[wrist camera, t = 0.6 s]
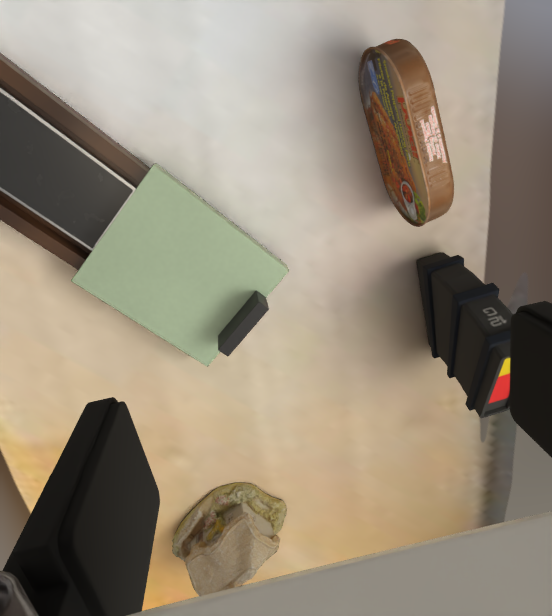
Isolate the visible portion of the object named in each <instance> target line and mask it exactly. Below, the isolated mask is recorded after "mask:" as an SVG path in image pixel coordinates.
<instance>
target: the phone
mask: <svg viewBox="0 0 552 616" xmlns="http://www.w3.org/2000/svg"><path fill="white" fill-rule="evenodd" d="M136 188H137V186H135V185H134V184H133V183H131V182H130V181H129V180H127V179H126V178H125V177H123V176H122V175H121V174H119V173H118V172H117V171H115V170H114V169H113V168H111V167H110V166H109V165H107V164H106V163H105V162H103V161H102V160H101V159H99V158H98V157H97V156H95V155H94V154H93V153H91V152H90V151H88V150H87V149H86V148H84V147H83V146H82V145H80V144H79V143H78V142H76V141H75V140H74V139H72V138H71V137H70V136H68V135H67V134H66V133H64V132H63V131H62V130H60V129H59V128H58V127H56V126H55V125H54V124H52V123H51V122H50V121H48V120H47V119H46V118H44V117H43V116H42V115H40V114H39V113H38V112H36V111H35V110H33V109H32V108H31V107H29V106H28V105H27V104H25V103H24V102H23V101H21V100H20V99H19V98H17V97H16V96H15V95H13V94H12V93H11V92H9V91H8V90H7V89H5V88H4V87H3V86H1V85H0V190H1V191H2V192H4V193H5V194H7V195H8V196H10V197H11V198H13V199H14V200H16V201H17V202H19V203H20V204H22V205H23V206H25V207H26V208H28V209H29V210H31V211H32V212H34V213H35V214H37V215H38V216H40V217H41V218H43V219H44V220H46V221H47V222H49V223H50V224H52V225H53V226H55V227H56V228H58V229H59V230H61V231H62V232H64V233H65V234H67V235H68V236H70V237H71V238H73V239H74V240H76V241H77V242H79V243H80V244H82V245H83V246H85V247H86V248H88V249H89V250H91V251H93V249H94V248H95V246H96V245H97V244H98V242H99V241H100V239H101V238H102V236H103V235H104V234H105V232H106V231H107V229H108V228H109V227H110V225H111V224H112V222H113V221H114V219H115V218H116V217H117V215H118V214H119V212H120V211H121V210H122V208H123V207H124V205H125V204H126V203H127V201H128V200H129V198H130V197H131V195H132V194H133V193H134V191H135V190H136Z"/></svg>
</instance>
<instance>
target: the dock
mask: <svg viewBox="0 0 552 616" xmlns="http://www.w3.org/2000/svg"><path fill="white" fill-rule="evenodd" d="M0 85H1V86H3V87H4V88H5V89H7V90H8V91H9V92H11V93H12V94H13V95H15V96H16V97H17V98H19V99H20V100H21V101H23V102H24V103H25V104H27V105H28V106H29V107H31V108H32V109H33V110H35V111H36V112H38V113H39V114H40V115H42V116H43V117H44V118H46V119H47V120H48V121H50V122H51V123H52V124H54V125H55V126H56V127H58V128H59V129H60V130H62V131H63V132H64V133H66V134H67V135H68V136H70V137H71V138H72V139H74V140H75V141H76V142H78V143H79V144H80V145H82V146H83V147H84V148H86V149H87V150H88V151H90V152H91V153H93V154H94V155H95V156H97V157H98V158H99V159H101V160H102V161H103V162H105V163H106V164H107V165H109V166H110V167H111V168H113V169H114V170H115V171H117V172H118V173H119V174H121V175H122V176H123V177H125V178H126V179H127V180H129V181H130V182H131V183H133V184H134V185H135V186H137V187H138V186H139V184H140V183H141V181H142V180H143V179H144V177H145V176H146V174H147V173H148V171H149V170H150V168H149V167H148V166H147V165H145V164H144V163H143V162H141V161H140V160H139V159H137V158H136V157H135V156H134V155H132V154H131V153H130V152H128V151H127V150H126V149H124V148H123V147H122V146H121V145H119V144H118V143H117V142H115V141H114V140H113V139H111V138H110V137H109V136H108V135H106V134H105V133H104V132H102V131H101V130H100V129H98V128H97V127H96V126H95V125H93V124H92V123H91V122H89V121H88V120H87V119H85V118H84V117H83V116H82V115H80V114H79V113H78V112H76V111H75V110H74V109H72V108H71V107H70V106H69V105H67V104H66V103H65V102H63V101H62V100H61V99H59V98H58V97H57V96H56V95H54V94H53V93H52V92H50V91H49V90H48V89H47V88H45V87H44V86H43V85H41V84H40V83H39V82H37V81H36V80H35V79H34V78H32V77H31V76H30V75H28V74H27V73H26V72H24V71H23V70H22V69H21V68H19V67H18V66H17V65H15V64H14V63H13V62H11V61H10V60H9V59H8V58H6V57H5V56H4V55H2V54H1V53H0ZM0 220H2V221H3V222H5V223H6V224H8V225H9V226H11V227H12V228H14V229H16V230H17V231H19V232H20V233H22V234H23V235H25V236H27V237H28V238H30V239H31V240H33V241H34V242H36V243H37V244H39V245H41V246H42V247H44V248H45V249H47V250H48V251H50V252H51V253H53V254H55V255H56V256H58V257H59V258H61V259H62V260H64V261H66V262H67V263H69V264H70V265H72V266H73V267H75V268H76V269H78V270H79V269H80V268H81V266H82V265H83V263H84V262H85V260H86V259H87V258H88V256H89V255H90V253H91V252H92V251H91V250H89V249H88V248H86V247H85V246H83V245H82V244H80V243H79V242H77V241H76V240H74V239H73V238H71V237H70V236H68V235H67V234H65V233H64V232H62V231H61V230H59V229H58V228H56V227H55V226H53V225H52V224H50V223H49V222H47V221H46V220H44V219H43V218H41V217H40V216H38V215H37V214H35V213H34V212H32V211H31V210H29V209H28V208H26V207H25V206H23V205H22V204H20V203H19V202H17V201H16V200H14V199H13V198H11V197H10V196H8V195H7V194H5V193H4V192H2V191H1V190H0Z"/></svg>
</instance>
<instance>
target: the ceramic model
mask: <svg viewBox="0 0 552 616" xmlns="http://www.w3.org/2000/svg"><path fill="white" fill-rule="evenodd" d="M286 512H287V509H286V505H285V503H284V502H283V501H282V500H278V499H276V498H273V497H271V496H269V495H268V494H266V493H264V492H263V491H261V490H260V489H258V488H257V487H256V486H254V485H252V484H249V483H233V484H230V485H225V486H221V487H218V488H216V489H215V490H214V491H212V492H211V493H210V494H209V495H208V496H207V497H206V498H204V499H203V500H202V501H201V502H200V503H199V504H198V505H197V506H196V507H195V508H194V509H193V510H192V511H191V512H190V513H189V514H188V515H187V516H186V518H185V519H184V520H183V521H182V523H181V524H180V526H179V528H178V530H177V532H176V533H175V535H174V538H173V540H172V542H173V545H172V547H173V550H172V551H173V554H174V555H175V556H176V557H179V558H181V559H182V560H184V561H185V563H186V567H187V570H188V572H189V576H190V579H191V582H192V585H193V588H194V590H195V591H196V592H197V594H198V595H199V596H203V595H207V594H211V593H215V592H219V591H223V590H227V589H231V588H235V587H239V586H242V584H243V583H245V582H246V581H248V580H250V579H251V578H253V576H254V575H255V574H256V572H257V570H258V569H259V568H260V566H262V564H263V563H264V562H265V561H266V560H267V559H269V558H270V557H271V556H272V555H273V554H275V553H276V552H277V550H278V548H279V542H280V538H279V537H278V536H277V535H276V534H277V533H278V532H279V531H280V530H281V528H282V526H283V525H282V524H283V522H284V518H285V516H286Z"/></svg>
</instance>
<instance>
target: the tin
mask: <svg viewBox="0 0 552 616" xmlns="http://www.w3.org/2000/svg"><path fill="white" fill-rule="evenodd" d="M359 88H360V94H361V99H362V103H363V107H364V111H365V115H366V118H367V122H368V125H369V129H370V133H371V136H372V140H373V143H374V147H375V150H376V154H377V158H378V162H379V165H380V169H381V173H382V176H383V180H384V183H385V186H386V189H387V191H388V193H389V196H390V198H391V200H392V202H393V204H394V206H395V207H396V209H397V210H398V212H399V213H400V214H401V216H402V217H403V218H404V219H405V220H406V221H407V222H408V223H410V224H411V225H413V226H416V227H420V226H423V225H424V224H425V223H427V222H429V221H431V220H434V219H436V218H438V217H440V216H442V215H444V214H445V213H446V212H447V211H448V210H449V209H450V207H451V205H452V201H453V196H454V182H453V175H452V170H451V165H450V160H449V156H448V151H447V146H446V141H445V136H444V132H443V127H442V123H441V118H440V114H439V109H438V104H437V100H436V95H435V91H434V86H433V82H432V79H431V76H430V73H429V70H428V68H427V65H426V63H425V61H424V59H423V57H422V56H421V54H420V53H419V51H418V50H417V49H416V48H415V47H414V46H413V45H412V44H411V43H410V42H409V41H406V40H403V39H394V40H390V41H388V42H385V43H383V44H381V45H379V46H376V47H370V48H368V49H366V50H365V51H364V53H363V55H362V57H361V61H360V66H359Z"/></svg>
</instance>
